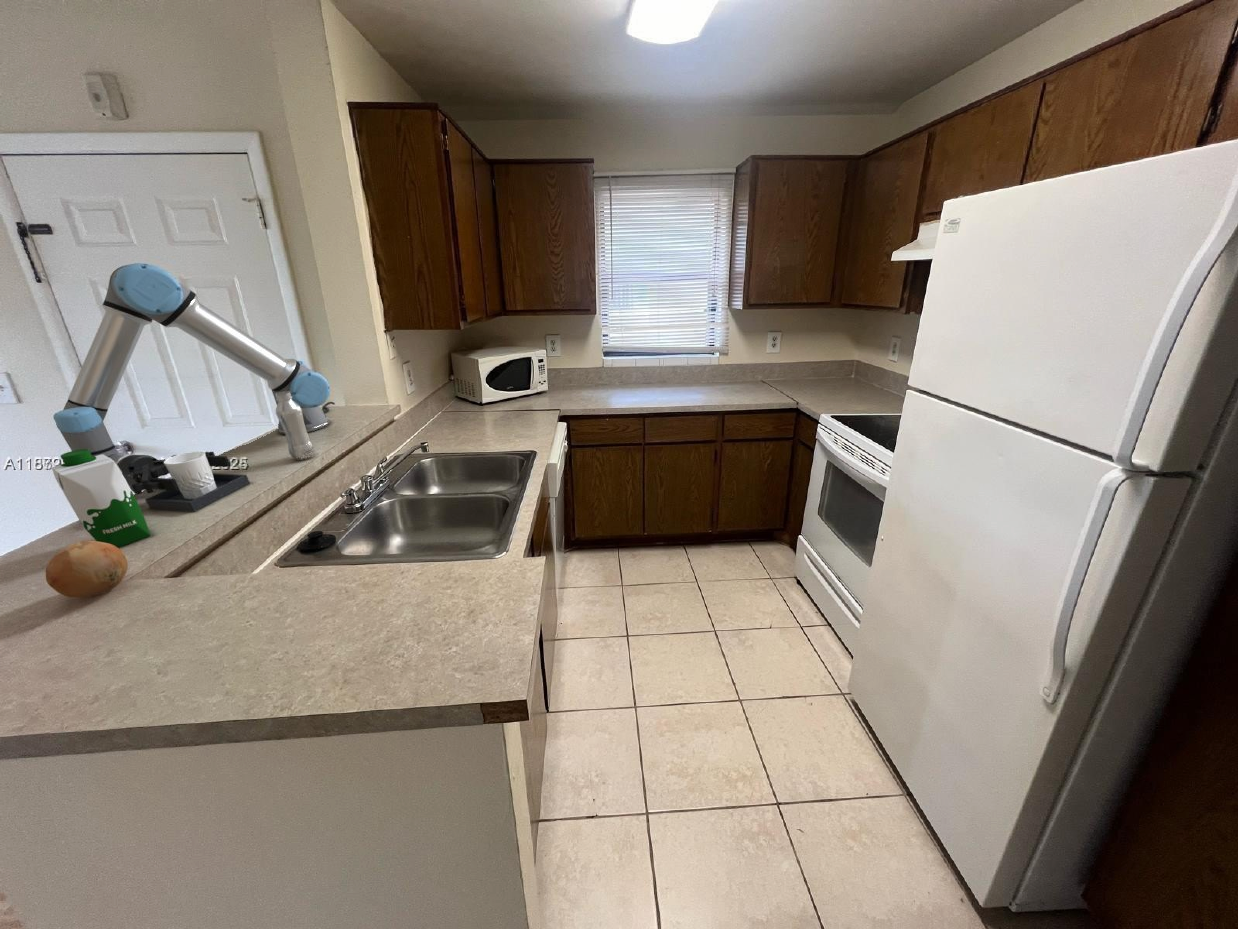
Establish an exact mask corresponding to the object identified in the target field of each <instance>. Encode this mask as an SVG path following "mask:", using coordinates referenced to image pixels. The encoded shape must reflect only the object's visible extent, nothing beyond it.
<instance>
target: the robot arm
mask: <svg viewBox="0 0 1238 929" xmlns="http://www.w3.org/2000/svg"><path fill="white" fill-rule="evenodd" d="M101 307H102V308H103V309H104V311H105V312H104V314H103V317H102V319H101V322H100V324H99V326H98V328H97V331H96V333H95V336H94V337H93V340H92V342H91V345H90V347H89V349H88V352H87V354H86V356H85V358H84V361H83V363H82V365H81V367H80V369H79V372H78V374H77V377H76V379H75V382H74V383H73V386H72V387H71V391H70V393H69V395H68V398H67V401H66V402H65V405H64V407H63V409H62V410H60V411H58V412H55V413H54V414H53V420H54V422H55V426H56V428H57V430H59V432H60V434H61V435H62V437H63V440H65V442H66V444H67V445H68V447H69V449H70V450H71V451H75V450H81V449H88V450H89V451H90V453H91V455H92V456H98V455H102V454H103V455H105V456H107V457H109V458H111V459H112V460H113V461H114V462H115V463H116V465H117V466H118V467H119V469H120V470H121V472H122V475H123V476H124V478H125V480H126V481H127V483H128V485H129V487H130V489H131V491H132V493H133V494H135V495H140V494H142V493H143V491H145V492H146V494H153V493H154V492H155V491H154V490H161V491H165V490H176V491H177V490H179V487H178V485H177V482H176V480H175V479H172V478H167V477H166V478H165V477H163V478H162V476H167V475H170V473H169V472H168V470H167V468H166V466H165V464H164V461H165V460H166V459H157V458H155V457H154V456H151V455H147V454H133V453H119V452H118V449H117V448H116V445H115V443H114V442H113V440H112V438H111V436H110V434H109V432H108V430H107V428H106V425H105V424H104V420H105V418H106V416H107V413H108V410H109V408H110V406H111V403H112V401H113V398H114V396H115V394H116V392H117V390H118V387H119V385H120V383H121V381H122V378H123V375H124V374H125V371H126V369H127V367H128V365H129V363H130V360H131V357H132V355H133V353H134V351H135V349H136V346H137V344H138V342H139V339H140V337H141V334H142V332H143V330H144V328H145V326H146V325H151V324H152V322H153V321H155V322H156V323H157V324H160V325H161V326H163V327H165V328H178V329H180V330H181V331H183V332H185V333H186V334H187V335H189V336H191V337H193V338H195V339H196V340H197V341H199V342H201V343H202V344H205V345H206V346H207V347H210V348H211V349H213V350H215V351H216V352H218V353H220V354H221V355H223V356H224V357H227V358H228V359H230V360H231V361H232V362H234V363H236V364H237V365H240V366H241V367H243V368H244V369H246V370H247V371H249V372H251V373H253V374H255V375H256V376H258V377H259V378H261V379H263V380H264V381H266V383H267V387H268V389H270V390H271V393H272V395H273V398H274V401H275V404H276V406H277V405H278V403H279V402H278V401H277V398H276V395H275V394H276V393H279V392H284V391H289V392H290V393H291V396H292V400H293V401H294V402H296V403H297V404H298V405H299V406H300V407H301V409H302V414H303V420H304V424H305V428H306V431H307V434H308V433H310V432H315V431H318V430H322V429H324V428H326V427H327V426H329V425H330V421H329V417H328V416H327V415H326V413H328V412H329V411H330V409H329V408H328V406H329V405H336V403H335V402H334V401H328V402H327V400H328V399H329V397H330V394H331V388H330V387H331V386H330V384H329V381H328V380H327V378H326V377H324V375H322V374H321V373H320V372H316V371H313V370H312V369H310V368H309V367H308V366H307V365H306V363H305V361H303V360H296V359H295V358H284V357H283V356H281V355H280V354H278V353H277V352H275V351H274V350H272V349H271V348H269V347H268V346H266V345H265V344H263V343H261V342H260V341H258V340H256V338H254V337H253V336H250V334H248V333H246V332H245V331H243V330H242V329H240V328H239V327H237V326H235V325H234V324H232V323H231V322H229V321H228V320H226V319H224V317H222V316H220V315H218V313H216V312H214V311H212V310H211V309H209V308H208V307H206V306H205V305H203V303H200V300H199V297H198V294H197V293H195V292H194V291H193V290H191V289H189V288H188V287H187V286H185V285H184V284H182V283H180V282H179V281H178V280H177V278H176V277H174V276H173V275H172V274H171V273H169V272H168V271H167V270H164V269H163V268H161V267H158V266H155V265H152V264H150V263H141V262H137V263H136V262H135V263H130V264H125V265H122V266H119V267H118V268H116V269H115V270H114V271H113V272H112V273H111V275H110V277H109V280H108V287H107V291H106V295H105V298H104V300H103V302H102V306H101ZM325 402H326V403H325ZM323 404H324V405H323ZM322 405H323V406H322ZM321 406H322V408H321ZM277 428H278V431H279V433H280V434H282V435H286V434H285V432H284V429H283V427H282V425H281V423H280V421H279V420H278V424H277ZM204 453H205V454H206V457H207V460H208V463H209V465H210V467H218V468H219V467H220V468H229V467H231V463H230V460H229V458H228V456H225V455H224V456H223V455H215V452H214V451H205V452H204ZM176 455H177V454H173V455H172V456H170V458H171V457H173V456H176Z"/></svg>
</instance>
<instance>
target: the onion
mask: <svg viewBox="0 0 1238 929" xmlns="http://www.w3.org/2000/svg"><path fill="white" fill-rule="evenodd" d="M128 565H129V564H128V559H127V557H126V555H125V553H124V552H123V551H122V550H121V549H120V547H119V548H117V547H116V546H114V545H112V544H109V543H104V542H98V541H96V540H80V541H77V542H75V543H72V544H70V545H68V546H66V547H64V548H63V549H61V550H60V551H58V552H57V553H55V554H54V555H53V556H52V558H50V560H49V561H48V563H47V565H46V568H45V582H46V583H47V585H48V586H49V587H50V588H52V589H53V590H54V591H55V592H57V593H58V594H60V595H61V596H64V597H66V598H70V599H71V598H72V599H74V598H75V599H85V598H92V597H97V596H100V595H102V594H104V593H106V592H109V591H110V590H112V589H114V588H116V587H117V586H118V585H119V584H120V583H121V582H122V581H123V579H124V577H125V576H126V574H127V571H128Z"/></svg>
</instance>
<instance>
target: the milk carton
mask: <svg viewBox="0 0 1238 929" xmlns="http://www.w3.org/2000/svg"><path fill="white" fill-rule="evenodd" d="M60 458H61V460H62V462H63V463H61V464H59V465H55V466H52V467H51V470H52V472H53V476H54V479H55V481H56V483H57V484H58V486H59V488H60V489H61V491H62V492H63V495H64V496H65V498H66V500H67V502H68V503H69V505H70V507H71V508H72V510H73V511H74V513H75V515H76V517H77V518H78V520H79V522H80V524H81V525H82V527H83V528H84V530H85V531H87V533H88V534H89V535H90V536H91V537H92V538H93V539H94V541H98V542H104V543H109V544H112V545H114V546H116V547H117V548H119V549H120V548H122V547H124V546H127V545H130V544H132V543H135V542H137V541H138V542H139V541H140V540H143V539H146V538H148V537H151V536H152V534H151V533H150V529H149V527H148V524H147V522H146V519H145V515H144V513H143V511H142V508H141V507H140V504H139V502H138V501H137V499H136V497H135V495H134V492H133V491H132V490H131V489H130V487H129V485H128V483H127V481H126V480H125V478H124V476H123V475H122V472H121V470H120V469H119V467H118V466H117V465H116V463H115V462H114V461H113V460H112V459H111V458H109V457H107V456H105V455H103V454H102V455H98V456H92V455H91V453H90V451H89V450H88V449H81V450H75V451H72V450H71V451H68V452H67V451H66V452H65V453H63V454H60Z"/></svg>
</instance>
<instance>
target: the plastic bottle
mask: <svg viewBox="0 0 1238 929" xmlns="http://www.w3.org/2000/svg"><path fill="white" fill-rule="evenodd" d="M275 395H276V398H277V401H278V402H279V403H278V405H277V404H276V407H275V415H276V417H277V419H278V422H279V421H280V423H281V425H282V427H283V429H284V432H285V434H284V435H285V436H286V440H287V441H286V442H287V446H288V447H287V448H288V453H289V455H290V457H291V458H293V459H294V460H297V461H298V460H300V461H301V460H306V459H309V458H311V457H313V456H314V455H315V454H316V453H315V452H316V449H315V445H314V443H313V441H312V440H311V439H310V436H309V434H308V433H307V431H306V428H305V424H304V420H303V414H302V409H301V407H300V406H299V405H298V404H297V403H296V402H294V401H293V400H292V396H291V393H290V392H289V391H284V392H279V393H276V394H275Z"/></svg>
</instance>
